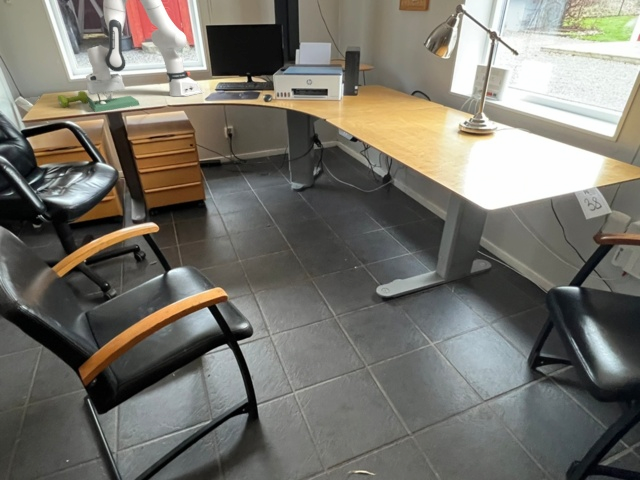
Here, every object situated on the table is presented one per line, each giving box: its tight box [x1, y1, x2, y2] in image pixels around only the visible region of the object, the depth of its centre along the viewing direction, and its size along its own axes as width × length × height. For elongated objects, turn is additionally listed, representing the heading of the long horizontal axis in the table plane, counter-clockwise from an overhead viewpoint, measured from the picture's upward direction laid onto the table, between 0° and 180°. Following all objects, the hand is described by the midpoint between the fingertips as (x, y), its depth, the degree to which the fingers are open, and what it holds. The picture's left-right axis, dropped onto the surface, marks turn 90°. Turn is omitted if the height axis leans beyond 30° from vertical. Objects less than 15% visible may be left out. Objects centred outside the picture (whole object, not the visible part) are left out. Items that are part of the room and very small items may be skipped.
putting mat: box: [87, 93, 140, 113], centre depth 234 cm, size 25×18×12 cm
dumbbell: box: [56, 90, 89, 109], centre depth 239 cm, size 16×8×7 cm, turn 142°
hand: (109, 99), depth 235 cm, fingers closed
